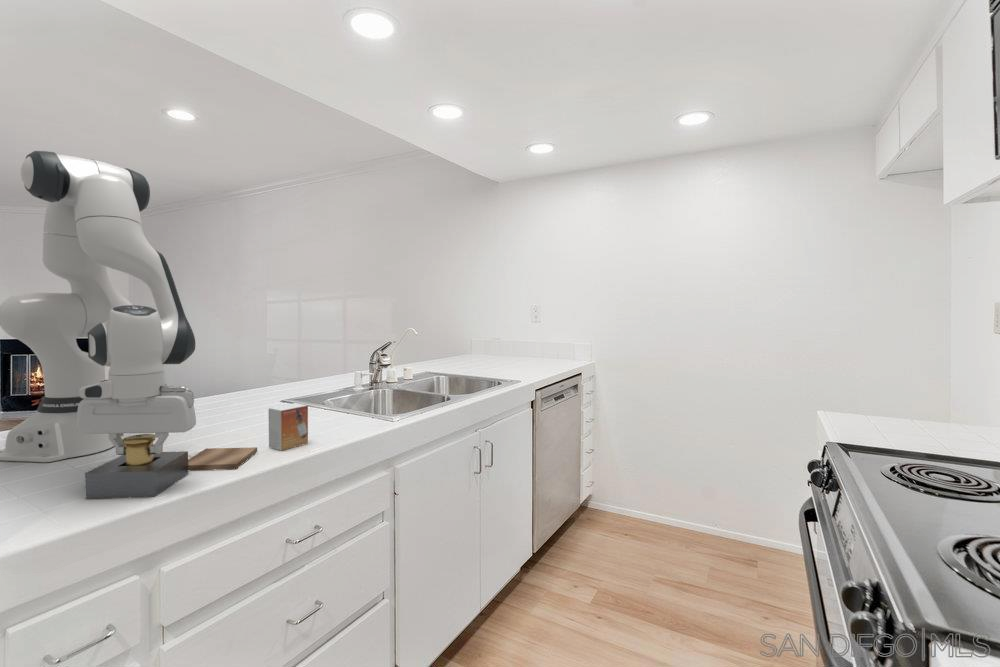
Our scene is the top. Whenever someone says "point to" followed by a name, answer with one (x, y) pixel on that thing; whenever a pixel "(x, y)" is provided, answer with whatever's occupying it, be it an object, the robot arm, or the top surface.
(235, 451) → the board
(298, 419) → the small box
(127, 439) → the gold cylinder
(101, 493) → the block
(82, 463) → the top surface
